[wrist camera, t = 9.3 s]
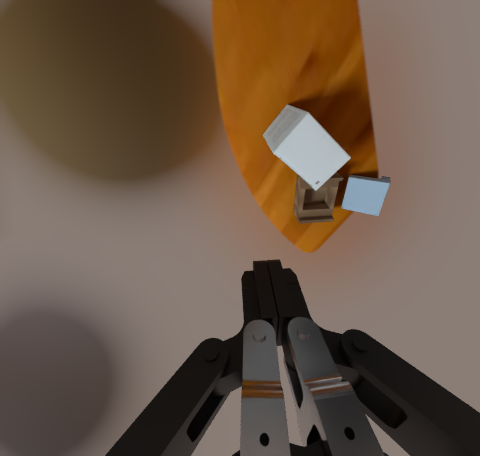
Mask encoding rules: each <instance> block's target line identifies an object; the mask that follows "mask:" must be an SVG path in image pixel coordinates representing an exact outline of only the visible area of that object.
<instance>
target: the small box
mask: <svg viewBox="0 0 480 456" xmlns="http://www.w3.org/2000/svg"><path fill="white" fill-rule="evenodd" d="M263 137H264V138H265V140H266V142H267V143H268V145H269V147H270V149H271V150H272V152H273V154H275V155H276V156H277V157H279V158H280V159H281V160H282V161H283V162H285V163H286V164H287V165H288V166H289V167H290V168H291V169H293V170H294V171H295V172H296V173H297V174H298V175H299V176H300V177H302V178H303V179H304V180H305V181H306V182H307V183H308V184H309V185H310V186H311V187H312V188H313V189H314V190H315V191H316V190H317V189H318V188H320V187H321V186H322V185H323V184H324V183H325V182H326V181H327V180H328V179H329V178H330V177H331V176H332V175H333V174H334V173H336V172H337V171H338V170H339V169H340V168H341V167H342V166H343V165H344V164H345V163H346V162H347V161H348V160H349V159H350V158H351V156H350V155H349V154H348V153H347V152H346V151H345V150H344V149H343V148H342V147H341V146H340V145H339V144H338V143H337V141H336V140H335V139H334V138H333V137H332V136H331V135H330V134H329V133H328V132H327V131H326V130H325V129H324V128H323V127H322V126H321V124H320V123H319V122H318V121H317V120H316V119H315V118H314V117H313V116H312V115H311V114H310V113H309V112H307V111H304V110H302V109H299V108H296V107H293V106H290V105H288V104H287V105H286V107H285V108H284V109H283V110H282V111H281V113H280V114H279V115H278V116H277V118H276V119H275V120H274V121H273V122H272V124H271V125H270V126H269V127H268V129H267V130H266V131H265V133H264V134H263Z"/></svg>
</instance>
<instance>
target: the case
mask: <svg viewBox="0 0 480 456" xmlns="http://www.w3.org/2000/svg"><path fill="white" fill-rule="evenodd" d="M339 181H343V177H342V176H341V175H340V174H338V173H337V172H336V173H334V174H333V175H332V176H331V177H330V178H329V179H328V180H327V181H326V182H325V183H324V184H323V185H322V186H321V187H320V188H318V189H317V190H316V191H315V190H314V189H313V188H312V187H311V186H310V185H309V184H308V183H307V182H306V181H305V180H304V179H303V178H302V177H300V176H299V175H298V174H297V183H296V192H295V202H294V211H293V212H294V214H295V216H296V218H297V220H298V222H299V223H312V222H329V221H333V220H334V218H333V217H332V212H333V208H334V203H335V199H336V194H337V190H338V185H339Z"/></svg>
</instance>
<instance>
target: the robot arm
mask: <svg viewBox="0 0 480 456" xmlns="http://www.w3.org/2000/svg"><path fill="white" fill-rule="evenodd" d="M241 281H242V296H243V297H242V298H243V312H244V324H243V327H242V329H241V331H240V332H239V333H238V334H237V335H235V336H234V337H232V338H230V339H228V340H225V341H222V340H220V339H218V338H209V339H206V340H205V341H203V342H201V343H200V345H199V346H198V347H197V348H196V349H195V350H194V351H193V353H192V354H191V355H190V356H189V357H188V359H187V360H186V361H185V362H184V363H183V364H182V366H181V367H180V368H179V369H178V370H177V371H176V373H175V374H174V375H173V376H172V377H171V379H170V380H169V381H168V382H167V384H165V386H164V387H163V388H162V389H161V390H160V392H159V393H158V394H157V395H156V396H155V397H154V399H153V400H152V401H151V402H150V403H149V404H148V406H147V407H146V408H145V409H144V410H143V412H142V413H141V414H140V415H139V416H138V417H137V419H136V420H135V421H134V422H133V423H132V425H131V426H130V427H129V428H128V429H127V431H126V432H125V433H124V434H123V435H122V436H121V438H120V439H119V440H118V441H117V442H116V443H115V445H114V446H113V447H112V448H111V449H110V451H109V452H108V453H107V454H106V455H105V456H191V454H192V453H193V451H194V450H195V448H196V446H197V445H198V443H199V441H200V440H201V438H202V437H203V435H204V434H205V432H206V430H207V429H208V427H209V426H210V424H211V422H212V421H213V419H214V418H215V416H216V414H217V413H218V411H219V410H220V408H221V406H222V405H223V403H224V402H225V400H226V398H227V397H228V395H229V394H230V392H231V391H233V390H235V389H237V388H239V387H241V386H242V394H241V395H242V396H241V436H240V450H239V451H238V452H236V453H235V454H233V455H232V456H388V455H387V454H386V453H384V452H383V451H382V449H381V447H380V445H379V442H378V440H377V438H376V436H375V434H374V432H373V430H372V428H371V425H370V423H369V421H368V419H367V417H366V415H367V416H368V417H370V418H371V419H372V420H373V421H374V422H375V423H376V424H377V425H378V426H379V427H380V428H381V429H383V431H385V432H386V433H387V434H388V435H389V436H390V437H391V438H392V439H393V440H394V441H395V442H397V444H398V445H400V446H401V447H402V448H403V449H404V450H405V451H406V452H407V453H408V454H409V455H410V456H480V413H479V412H478V411H476V410H475V409H473V408H472V407H470V406H469V405H468V404H466V403H465V402H463V401H462V400H461V399H459V398H458V397H456V396H455V395H453V394H452V393H451V392H449V391H447V390H446V389H445V388H443V387H442V386H441V385H439V384H437V383H436V382H435V381H433V380H432V379H430V378H429V377H427V376H426V375H425V374H423V373H422V372H420V371H419V370H418V369H416V368H415V367H413V366H412V365H410V364H409V363H408V362H406V361H405V360H403V359H402V358H401V357H399V356H398V355H396V354H395V353H393V352H392V351H390V350H389V349H388V348H386V347H385V346H383V345H382V344H380V343H379V342H378V341H376V340H375V339H373V338H372V337H370V336H369V335H368V334H366V333H364V332H362V331H360V330H355V329H351V330H347V331H346V332H344V333H343V334H339V333H335V332H331V331H328V330H324V329H323V328H321V327H319V326H318V325H317V324H316V323H314V321H313V320H312V318H311V316H310V314H309V311H308V308H307V305H306V302H305V299H304V296H303V294H302V291H301V288H300V285H299V282H298V279H297V276H296V274H295V273H294V272H293V271H292V270H291V269H290V268H286V269H283V268H282V265H281V262H280V260H267V261H253V271H245V272H244V274H243V276H242V279H241ZM281 345H282V347H283V352H284V366H285V370H286V373H287V377H288V381H289V384H290V388H291V392H292V395H293V400H294V403H295V407H296V412H297V421H298V427H299V432H300V436H301V440H302V444H303V446H298V445H294V444H291V443H289V437H288V428H287V419H286V411H285V401H284V395H283V389H282V387H281V381H280V372H279V364H278V354H277V346H281ZM365 414H366V415H365Z"/></svg>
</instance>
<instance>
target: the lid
mask: <svg viewBox="0 0 480 456" xmlns="http://www.w3.org/2000/svg"><path fill="white" fill-rule="evenodd" d="M389 185H390V177H384V176H382V178H381V179H378V178H371V177H364V176H357V175H350V177H349V180H348V184H347V188H346V192H345V196H344V200H343V204H342V208H343V209H347V210H352V211H357V212H362V213H366V214H371V215H376V216H378V215H379V212H380V209H381V207H382V204H383V201H384V199H385V196H386V193H387V190H388V188H389Z"/></svg>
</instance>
